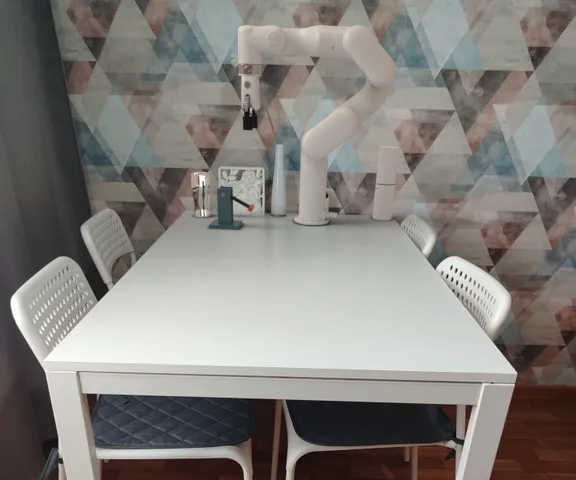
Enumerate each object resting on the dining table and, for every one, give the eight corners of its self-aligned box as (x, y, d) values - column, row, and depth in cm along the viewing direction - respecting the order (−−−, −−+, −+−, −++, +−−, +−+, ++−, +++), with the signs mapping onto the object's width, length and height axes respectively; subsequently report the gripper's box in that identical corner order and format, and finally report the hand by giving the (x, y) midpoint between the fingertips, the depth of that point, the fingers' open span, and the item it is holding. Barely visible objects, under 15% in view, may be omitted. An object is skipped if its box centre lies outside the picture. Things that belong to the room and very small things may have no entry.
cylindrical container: (382, 221, 204) (389, 148, 192) (368, 217, 209) (375, 146, 197) (395, 218, 208) (403, 147, 196) (381, 215, 213) (389, 145, 201)
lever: (252, 210, 190) (255, 204, 189) (250, 213, 186) (253, 207, 185) (221, 193, 189) (224, 186, 188) (218, 195, 184) (221, 189, 183)
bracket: (242, 223, 195) (241, 186, 189) (237, 229, 187) (236, 190, 181) (214, 222, 196) (213, 184, 190) (209, 228, 188) (207, 189, 182)
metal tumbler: (210, 218, 202) (208, 175, 194) (191, 217, 202) (188, 174, 194) (212, 214, 208) (211, 172, 201) (194, 213, 208) (192, 171, 201)
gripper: (257, 70, 170) (257, 131, 178) (265, 71, 185) (265, 127, 193) (233, 70, 170) (234, 130, 179) (243, 71, 185) (244, 126, 194)
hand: (250, 129), depth 186 cm, fingers open, 9 cm apart
